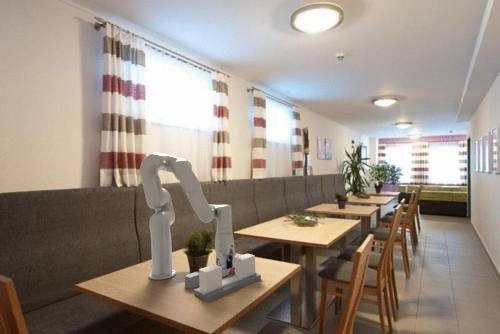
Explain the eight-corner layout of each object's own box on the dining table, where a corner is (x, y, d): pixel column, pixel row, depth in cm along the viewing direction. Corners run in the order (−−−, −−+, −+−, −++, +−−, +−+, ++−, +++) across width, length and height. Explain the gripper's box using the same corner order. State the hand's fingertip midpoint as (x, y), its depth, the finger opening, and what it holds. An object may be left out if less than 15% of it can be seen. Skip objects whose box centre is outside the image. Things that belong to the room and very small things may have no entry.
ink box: (230, 270, 152) (229, 246, 151) (236, 272, 148) (235, 248, 147) (215, 274, 146) (214, 250, 146) (221, 277, 142) (220, 252, 142)
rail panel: (194, 294, 124) (193, 268, 124) (245, 274, 145) (245, 251, 145) (208, 301, 117) (208, 274, 117) (260, 279, 138) (260, 256, 138)
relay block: (185, 286, 133) (184, 275, 133) (196, 282, 137) (195, 271, 137) (190, 289, 130) (189, 277, 130) (201, 284, 134) (201, 273, 134)
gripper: (207, 229, 150) (208, 265, 150) (230, 234, 138) (231, 273, 138) (219, 226, 155) (220, 261, 155) (242, 231, 143) (243, 268, 143)
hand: (225, 266), depth 147 cm, fingers closed on ink box, 5 cm apart
